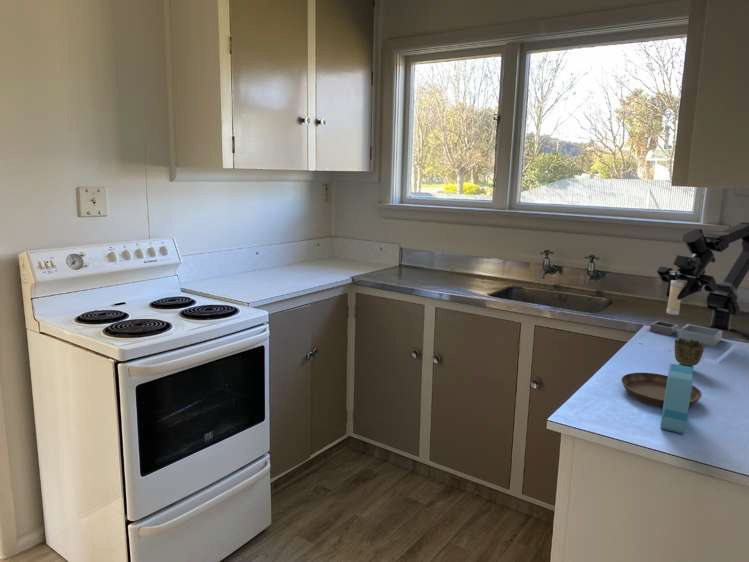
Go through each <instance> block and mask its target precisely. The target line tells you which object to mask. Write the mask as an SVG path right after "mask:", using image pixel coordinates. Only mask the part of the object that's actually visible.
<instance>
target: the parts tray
mask: <svg viewBox="0 0 749 562" xmlns="http://www.w3.org/2000/svg"><path fill="white" fill-rule="evenodd" d="M678 331H679V333H678V335H677V340H679V338H681V339H682V340H683V339H685V341H686V342H687V341H688V342H690V340H693V341H698V342H699V343H700V344H701V343H702V344H703V345H704V344H705V346H710V347H715V346H716V345H717V344H718V343H720V342H721V341H722V337H723V332H724V330H721V329H716V328H711V327H704V326H700V325H699V326H698V325H694V324H690V323H687V324H686V325H684V326H683V327H681V328H678Z"/></svg>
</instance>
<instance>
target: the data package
mask: <svg viewBox="0 0 749 562" xmlns="http://www.w3.org/2000/svg"><path fill="white" fill-rule="evenodd" d="M693 369H694V367H693V368H692V367H688V366H682V365H679V364H675V363H669V367H668V374H667V376H668V379H667V385H666V392H665V398H664V404H663V407H662V413H661V419H660V420H661V421H660V429H661V430H664V431H665V430H666V431H668V432H674V433H678V434H683V435H684V434H685V431H686V426H687V425H686V424H687V420H688V413H689V408H690V406H689V403H690V397H691V391H692V385H693V384H694V381H693V380H694V373H693V371H694V370H693Z"/></svg>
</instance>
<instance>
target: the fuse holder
mask: <svg viewBox="0 0 749 562" xmlns="http://www.w3.org/2000/svg"><path fill="white" fill-rule="evenodd" d="M645 332H648V333H653V334H658V335H663V336H666V337H671V338H675V337H678V333H679V324H675V323H671V322H666V321H662V320H656V321H654V322H652V323H650V326H649V328H648V329H647V330H645Z"/></svg>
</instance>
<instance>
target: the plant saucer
mask: <svg viewBox="0 0 749 562" xmlns="http://www.w3.org/2000/svg"><path fill="white" fill-rule="evenodd" d="M667 379H668V375H665V374H661V373H654V372H653V373H652V372H632V373H627V374H625V375H623V376H622V377H621V379H620V380H621V383H622V385H623V387H624V389H625V390H626V392H627V394H629V395H630V397H632V398H634V399H635V400H638V401H640V402H642V403H645V404H647V405H651V406H655V407H660V408H663V404H664V398H665V392H666V385H667ZM702 394H703V393H702V391H701V390H700V389H699V388H698V387H697V386H695V385H693V384H692V391H691V397H690V403H689V407H690V406H692V405H694V404H695V403H697V402H699V400H700V399H701V398H702V397H703V395H702Z"/></svg>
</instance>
